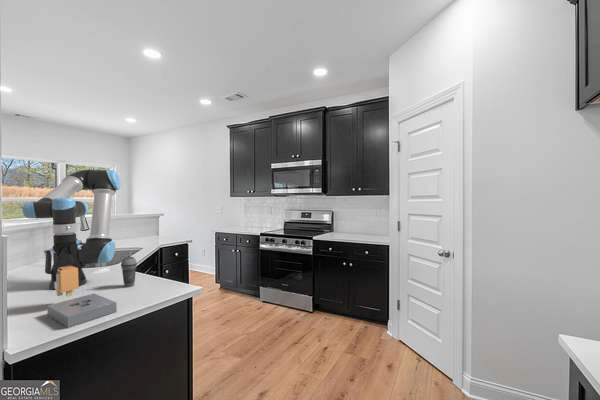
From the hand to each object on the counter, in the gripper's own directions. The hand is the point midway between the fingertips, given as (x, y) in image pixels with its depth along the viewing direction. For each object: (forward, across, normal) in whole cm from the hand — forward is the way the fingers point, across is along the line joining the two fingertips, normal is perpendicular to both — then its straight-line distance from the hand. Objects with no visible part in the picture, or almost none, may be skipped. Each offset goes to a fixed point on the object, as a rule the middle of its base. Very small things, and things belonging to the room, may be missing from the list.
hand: (66, 286), depth 120 cm
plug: (+4, 0, 0) cm, 4 cm away
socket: (+8, -1, -17) cm, 19 cm away
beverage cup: (+9, +27, +3) cm, 29 cm away
